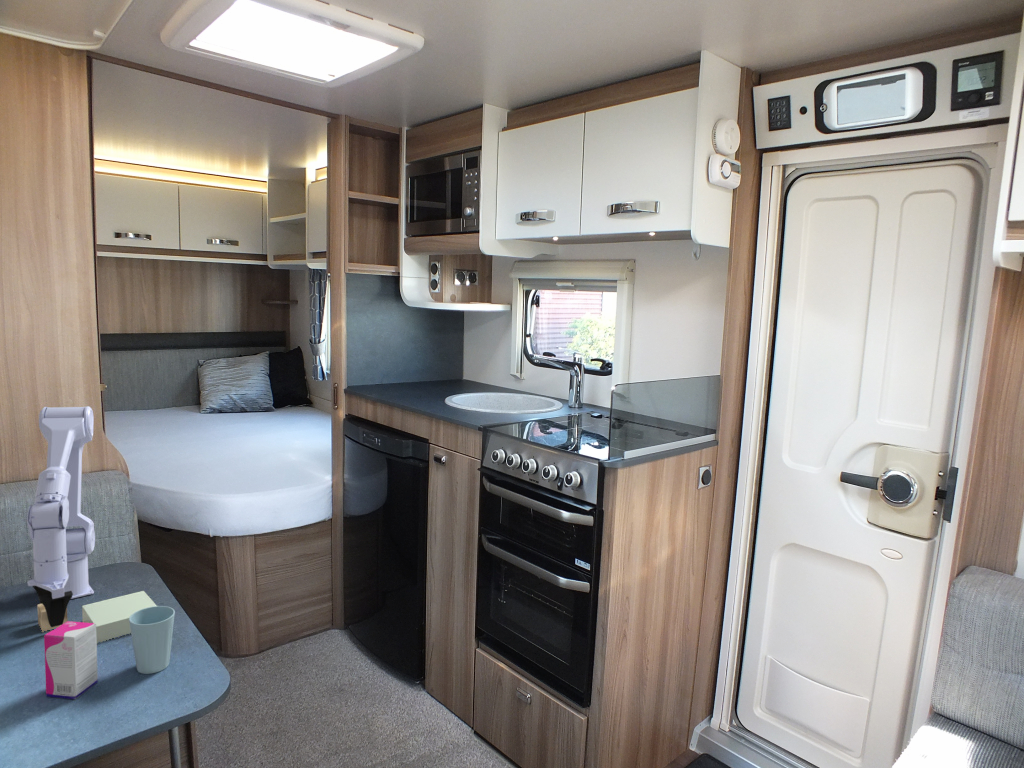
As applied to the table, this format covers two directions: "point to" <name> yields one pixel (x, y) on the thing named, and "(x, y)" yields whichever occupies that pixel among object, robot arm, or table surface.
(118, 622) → the green box
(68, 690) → the supplement box
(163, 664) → the cup
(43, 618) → the birch block
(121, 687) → the table surface
